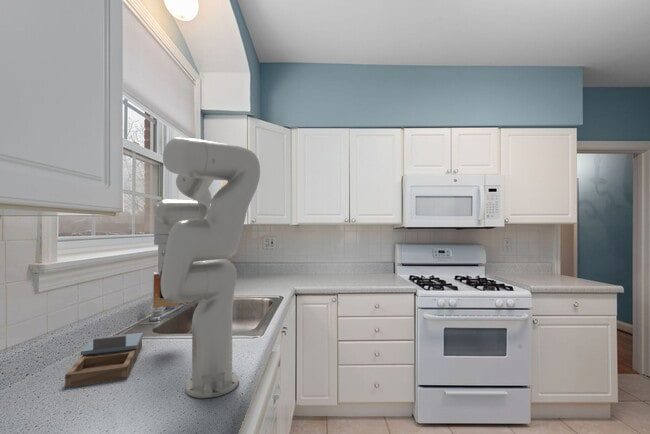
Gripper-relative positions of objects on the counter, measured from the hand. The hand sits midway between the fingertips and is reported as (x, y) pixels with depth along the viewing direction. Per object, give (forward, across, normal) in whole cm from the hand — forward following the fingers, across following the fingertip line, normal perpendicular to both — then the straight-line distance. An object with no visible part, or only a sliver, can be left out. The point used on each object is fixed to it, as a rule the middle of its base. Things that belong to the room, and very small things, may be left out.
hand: (166, 295), depth 109 cm
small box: (+3, 0, 0) cm, 3 cm away
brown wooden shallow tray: (+17, -7, +14) cm, 24 cm away
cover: (+14, 0, +15) cm, 20 cm away
